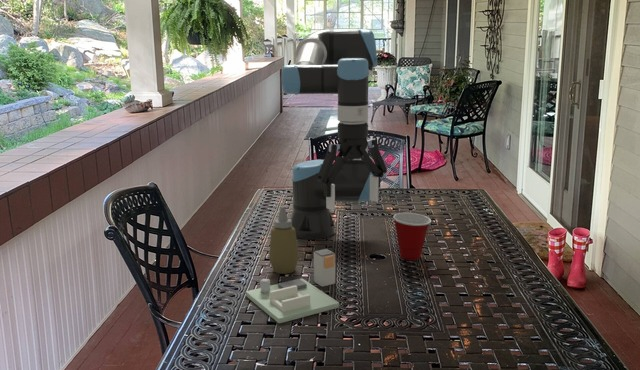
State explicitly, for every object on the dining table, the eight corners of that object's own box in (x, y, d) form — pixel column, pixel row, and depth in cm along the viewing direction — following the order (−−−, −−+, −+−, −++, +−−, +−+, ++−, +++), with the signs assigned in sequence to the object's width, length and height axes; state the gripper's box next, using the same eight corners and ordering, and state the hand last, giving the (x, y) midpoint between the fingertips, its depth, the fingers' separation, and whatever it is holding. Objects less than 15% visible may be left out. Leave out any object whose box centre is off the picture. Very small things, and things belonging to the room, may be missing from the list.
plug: (313, 281, 168) (313, 251, 166) (327, 278, 170) (326, 248, 168) (323, 287, 164) (323, 256, 162) (336, 284, 166) (336, 253, 164)
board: (245, 295, 159) (245, 280, 158) (302, 282, 167) (301, 267, 166) (278, 323, 144) (278, 306, 143) (339, 307, 152) (339, 290, 151)
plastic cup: (429, 264, 179) (430, 223, 176) (390, 262, 181) (391, 221, 178) (430, 251, 189) (432, 212, 186) (394, 249, 191) (394, 210, 188)
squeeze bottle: (303, 267, 178) (302, 204, 173) (292, 277, 170) (291, 212, 166) (276, 263, 180) (274, 202, 176) (264, 274, 173) (262, 210, 169)
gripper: (318, 128, 149) (319, 216, 154) (401, 119, 162) (400, 200, 167) (301, 124, 155) (303, 209, 160) (383, 116, 168) (382, 194, 173)
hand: (352, 205), depth 163 cm, fingers open, 13 cm apart
